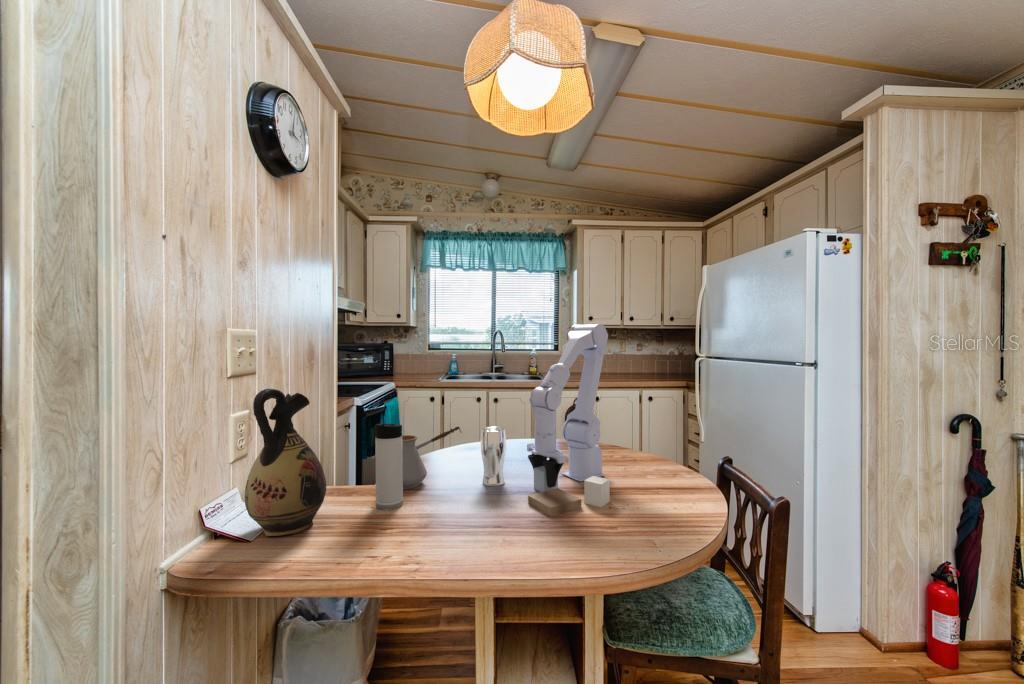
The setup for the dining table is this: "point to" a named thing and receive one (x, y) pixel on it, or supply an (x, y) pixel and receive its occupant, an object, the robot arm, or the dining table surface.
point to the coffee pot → (415, 459)
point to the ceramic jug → (283, 470)
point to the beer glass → (493, 454)
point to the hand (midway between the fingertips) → (545, 483)
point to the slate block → (541, 480)
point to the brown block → (554, 502)
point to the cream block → (596, 491)
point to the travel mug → (389, 466)
